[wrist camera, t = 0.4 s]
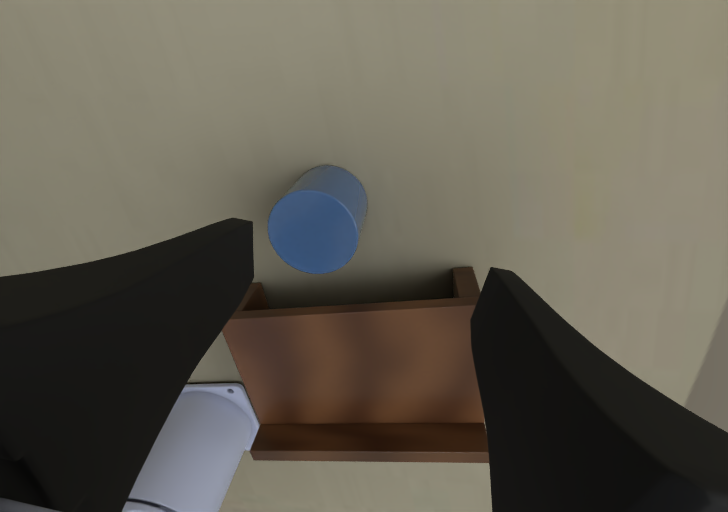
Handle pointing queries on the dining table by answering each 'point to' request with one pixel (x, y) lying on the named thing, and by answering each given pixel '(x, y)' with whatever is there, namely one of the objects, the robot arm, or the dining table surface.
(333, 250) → the blue cup
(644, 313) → the dining table surface
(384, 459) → the shelf
